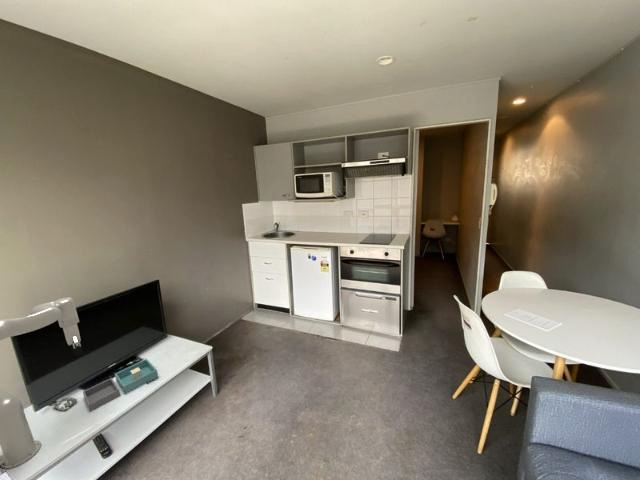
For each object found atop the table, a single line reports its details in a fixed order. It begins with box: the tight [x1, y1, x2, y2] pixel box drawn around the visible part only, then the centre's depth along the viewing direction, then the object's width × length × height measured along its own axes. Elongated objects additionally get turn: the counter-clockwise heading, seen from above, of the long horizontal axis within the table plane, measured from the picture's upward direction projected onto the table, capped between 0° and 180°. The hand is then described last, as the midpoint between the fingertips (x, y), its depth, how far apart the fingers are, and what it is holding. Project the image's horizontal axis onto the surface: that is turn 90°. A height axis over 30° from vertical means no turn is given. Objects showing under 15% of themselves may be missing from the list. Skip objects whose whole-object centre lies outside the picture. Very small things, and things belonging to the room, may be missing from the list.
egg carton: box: [51, 395, 78, 412], centre depth 154 cm, size 11×8×4 cm
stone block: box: [130, 368, 142, 381], centre depth 171 cm, size 4×4×6 cm
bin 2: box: [114, 358, 159, 395], centre depth 172 cm, size 18×18×6 cm
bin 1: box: [82, 377, 121, 412], centre depth 159 cm, size 14×16×5 cm
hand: (77, 350), depth 145 cm, fingers open, 9 cm apart
